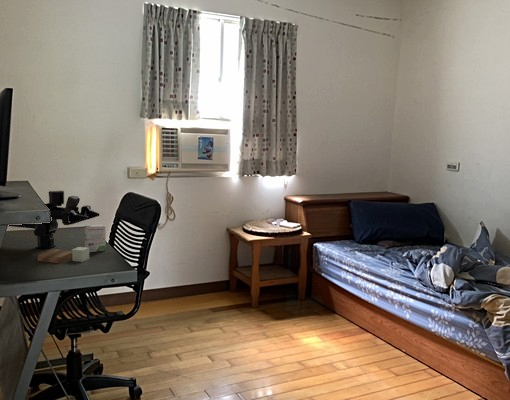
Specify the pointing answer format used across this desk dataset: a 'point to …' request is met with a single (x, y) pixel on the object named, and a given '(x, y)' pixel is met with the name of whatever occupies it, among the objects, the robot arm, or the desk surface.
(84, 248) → the sage cube
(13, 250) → the desk surface
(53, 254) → the walnut block
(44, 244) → the robot arm
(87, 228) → the ink box
